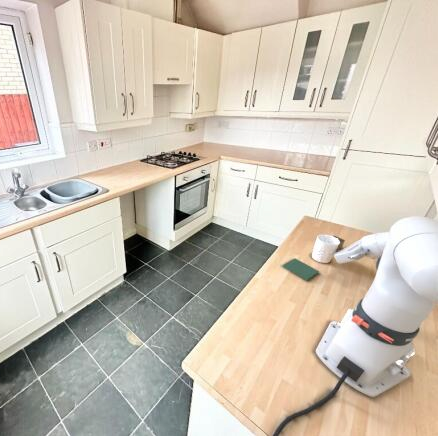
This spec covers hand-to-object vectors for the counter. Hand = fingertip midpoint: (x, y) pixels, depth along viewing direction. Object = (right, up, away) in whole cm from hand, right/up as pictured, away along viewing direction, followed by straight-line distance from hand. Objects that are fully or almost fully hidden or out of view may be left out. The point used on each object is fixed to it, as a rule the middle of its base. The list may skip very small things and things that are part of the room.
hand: (335, 254), depth 100 cm
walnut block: (+9, +1, +12) cm, 15 cm away
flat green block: (-15, -7, -1) cm, 17 cm away
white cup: (-2, -3, +6) cm, 7 cm away
